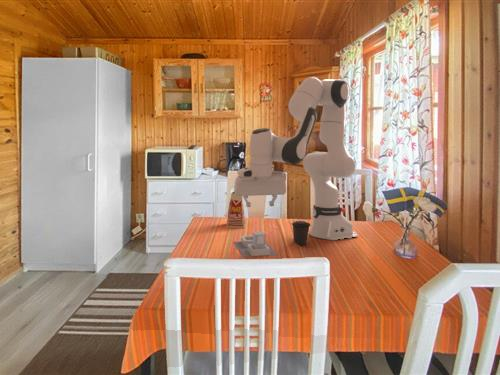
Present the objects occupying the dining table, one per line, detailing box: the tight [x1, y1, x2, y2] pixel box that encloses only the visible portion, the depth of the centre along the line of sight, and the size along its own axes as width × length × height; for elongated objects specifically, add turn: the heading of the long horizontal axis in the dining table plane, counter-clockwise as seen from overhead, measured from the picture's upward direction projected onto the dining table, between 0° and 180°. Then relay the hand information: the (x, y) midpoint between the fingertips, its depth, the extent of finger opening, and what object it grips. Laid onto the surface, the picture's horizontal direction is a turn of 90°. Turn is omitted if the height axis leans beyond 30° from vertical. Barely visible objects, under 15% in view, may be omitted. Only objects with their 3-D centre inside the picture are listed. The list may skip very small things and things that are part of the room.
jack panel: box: [233, 235, 279, 258], centre depth 165 cm, size 14×20×4 cm
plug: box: [252, 231, 266, 249], centre depth 159 cm, size 4×5×8 cm
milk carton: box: [226, 191, 246, 229], centre depth 203 cm, size 9×9×20 cm
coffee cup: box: [291, 220, 311, 247], centre depth 175 cm, size 8×8×10 cm
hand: (260, 206), depth 157 cm, fingers open, 8 cm apart
